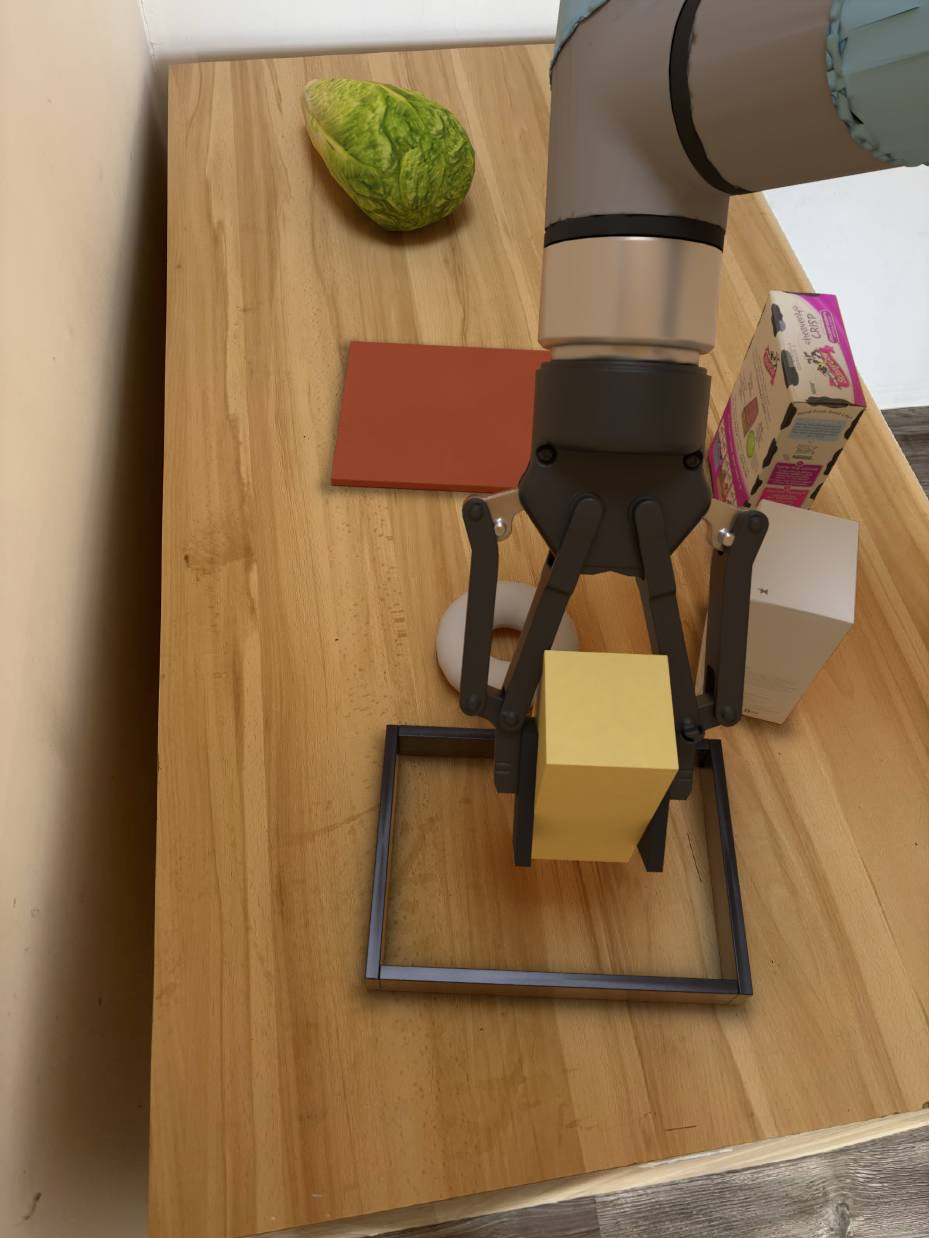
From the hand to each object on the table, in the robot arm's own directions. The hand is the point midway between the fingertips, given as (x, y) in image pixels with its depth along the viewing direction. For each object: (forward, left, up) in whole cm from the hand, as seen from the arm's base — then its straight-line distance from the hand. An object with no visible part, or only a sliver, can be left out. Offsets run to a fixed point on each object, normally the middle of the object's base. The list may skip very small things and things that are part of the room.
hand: (585, 855), depth 45 cm
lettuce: (+17, -75, -13) cm, 78 cm away
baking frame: (0, -4, -13) cm, 14 cm away
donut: (+3, -19, -13) cm, 23 cm away
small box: (-14, -19, -13) cm, 27 cm away
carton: (0, -4, -4) cm, 5 cm away
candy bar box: (-16, -34, -13) cm, 40 cm away
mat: (+7, -42, -13) cm, 44 cm away
